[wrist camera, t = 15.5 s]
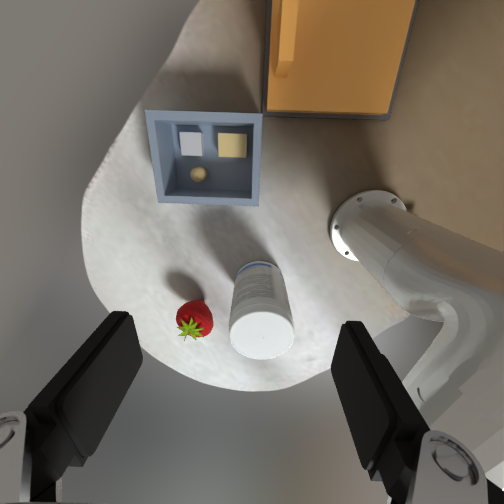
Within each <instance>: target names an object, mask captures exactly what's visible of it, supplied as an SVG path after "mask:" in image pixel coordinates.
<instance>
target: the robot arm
mask: <svg viewBox="0 0 504 504" xmlns="http://www.w3.org/2000/svg"><path fill="white" fill-rule="evenodd" d="M358 197H359V199H358V200H357V198H358ZM391 200H392V201H391ZM335 225H336V227H334V226H335ZM330 237H331V241H332V243H333V245H334V247H335V248H336V250H337V251H338V252H339V253H340V254H341V255H343V256H344V257H346V258H348V259H351V260H356V261H359V262H360V263H361V264H362V265H363V266H364V268H365V269H366V270H367V271H368V272H369V273H370V274H371V276H372V277H373V278H374V279H375V280H376V281H377V282H378V283H379V285H380V286H381V287H382V288H383V289H384V290H385V291H386V293H387V294H388V295H389V296H390V297H391V298H392V299H393V300H394V301H395V303H396V304H397V305H399V306H400V307H401V308H402V309H404V310H405V311H407V312H408V313H410V314H412V315H415V316H417V317H420V318H424V319H428V320H434V321H441V322H444V325H443V327H442V330H441V331H440V332H439V334H438V335H437V337H436V338H435V339H434V341H433V342H432V345H431V346H430V347H429V349H428V350H427V351H426V352H425V353H424V355H423V356H422V357H421V358H420V360H419V361H418V362H417V363H416V365H415V366H414V367H413V368H412V370H411V371H410V372H409V373H408V375H407V376H406V378H405V379H404V381H403V382H401V380H400V379H399V377H398V376H397V374H396V372H395V371H394V369H393V367H392V366H391V364H390V363H389V361H388V359H387V358H386V357H385V356H384V355H383V354H381V353H380V352H379V350H378V348H377V346H376V345H375V343H374V341H373V340H372V338H371V336H370V334H369V333H368V331H367V329H366V328H365V326H364V324H363V323H362V322H361V321H346V323H345V324H342V326H341V330H340V334H339V337H338V341H337V345H336V349H335V352H334V356H333V360H332V364H331V372H332V376H333V379H334V382H335V385H336V388H337V391H338V395H339V398H340V401H341V404H342V407H343V410H344V413H345V416H346V419H347V422H348V425H349V428H350V432H351V434H352V438H353V440H354V444H355V447H356V450H357V453H358V456H359V459H360V462H361V465H362V467H363V468H364V469H365V470H368V473H369V476H370V479H371V481H383V484H384V486H385V489H386V492H387V494H388V495H389V497H388V502H387V504H504V252H502V251H499V250H496V249H493V248H491V247H488V246H486V245H483V244H481V243H479V242H476V241H474V240H471V239H469V238H467V237H464V236H462V235H460V234H457V233H454V232H452V231H450V230H448V229H445V228H443V227H441V226H438V225H436V224H434V223H432V222H429V221H427V220H425V219H422V218H420V217H418V216H415V215H413V214H411V213H409V212H407V210H406V207H405V205H404V203H403V202H402V201H401V200H400V199H399V198H398V197H397V196H395V195H394V194H392V193H389V192H387V191H383V190H367V191H363V192H360V193H357V194H355V195H354V196H352V197H350V198H349V199H347V200H346V201H345V202H344V203H343V204H342V205H341V206H340V207H339V208H338V210H337V211H336V213H335V214H334V216H333V219H332V221H331V225H330ZM142 360H143V356H142V352H141V349H140V344H139V340H138V336H137V332H136V328H135V324H134V320H133V317H132V315H129V313H128V312H126V311H113V312H111V313H110V314H109V315H108V317H107V318H106V319H105V320H104V321H103V322H102V323H101V324H100V326H99V327H98V328H97V329H96V330H95V331H94V332H93V333H92V335H91V336H90V337H89V338H88V339H87V340H86V341H85V342H84V344H83V345H82V346H81V347H80V348H79V349H78V350H77V352H75V354H74V355H73V356H72V357H71V358H70V359H69V360H68V361H67V363H66V364H65V365H64V366H63V367H62V368H61V369H60V370H59V372H58V373H57V374H56V375H55V376H54V377H53V378H52V380H51V381H50V382H49V383H48V384H47V385H46V386H45V387H44V388H43V390H42V391H41V392H40V393H39V394H38V395H37V396H36V397H35V399H34V400H33V401H32V402H31V403H30V404H29V406H28V408H27V409H26V410H25V411H24V412H20V411H11V412H6V413H4V414H1V415H0V504H93V503H62V481H61V477H62V475H63V473H64V472H65V470H66V468H67V467H68V466H76V467H83V465H84V463H85V461H86V460H87V458H88V456H91V455H92V454H93V453H94V452H95V450H96V449H97V447H98V445H99V443H100V441H101V439H102V438H103V436H104V434H105V432H106V430H107V428H108V426H109V424H110V423H111V421H112V419H113V417H114V415H115V413H116V411H117V409H118V408H119V406H120V404H121V402H122V400H123V398H124V396H125V395H126V393H127V391H128V389H129V387H130V385H131V383H132V381H133V380H134V378H135V376H136V374H137V372H138V370H139V368H140V367H141V364H142Z"/></svg>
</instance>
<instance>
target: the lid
mask: <svg viewBox="0 0 504 504" xmlns="http://www.w3.org/2000/svg"><path fill="white" fill-rule="evenodd" d="M414 4H415V0H272V14H271V34H270V54H269V74H268V93H267V112H295V113H325V114H355V115H383V114H387V113H388V109H389V105H390V101H391V97H392V93H393V89H394V85H395V81H396V77H397V73H398V69H399V65H400V61H401V57H402V53H403V49H404V45H405V41H406V37H407V33H408V29H409V25H410V21H411V17H412V12H413V8H414Z"/></svg>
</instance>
